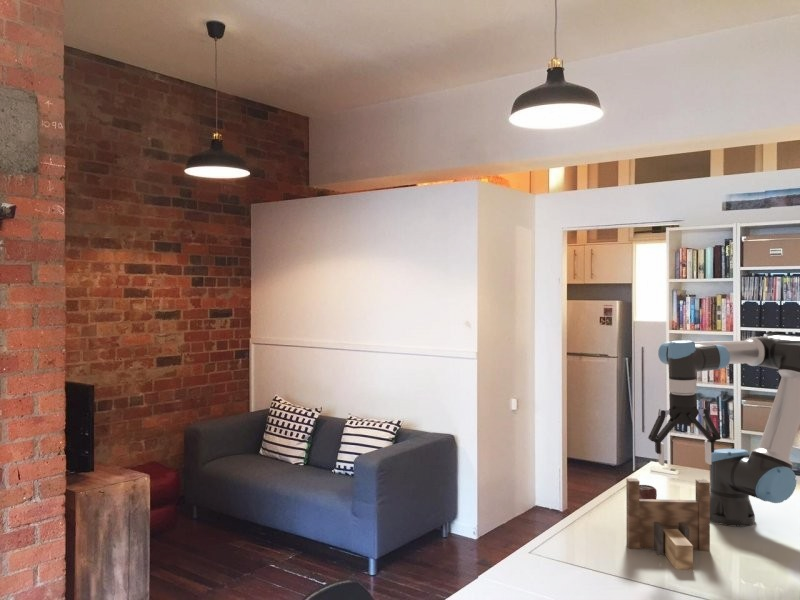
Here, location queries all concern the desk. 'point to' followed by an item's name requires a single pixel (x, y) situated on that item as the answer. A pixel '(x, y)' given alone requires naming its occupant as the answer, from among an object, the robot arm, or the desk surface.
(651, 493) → the can
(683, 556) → the tan rectangular block
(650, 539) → the wooden u-shaped stand
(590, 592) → the desk surface
